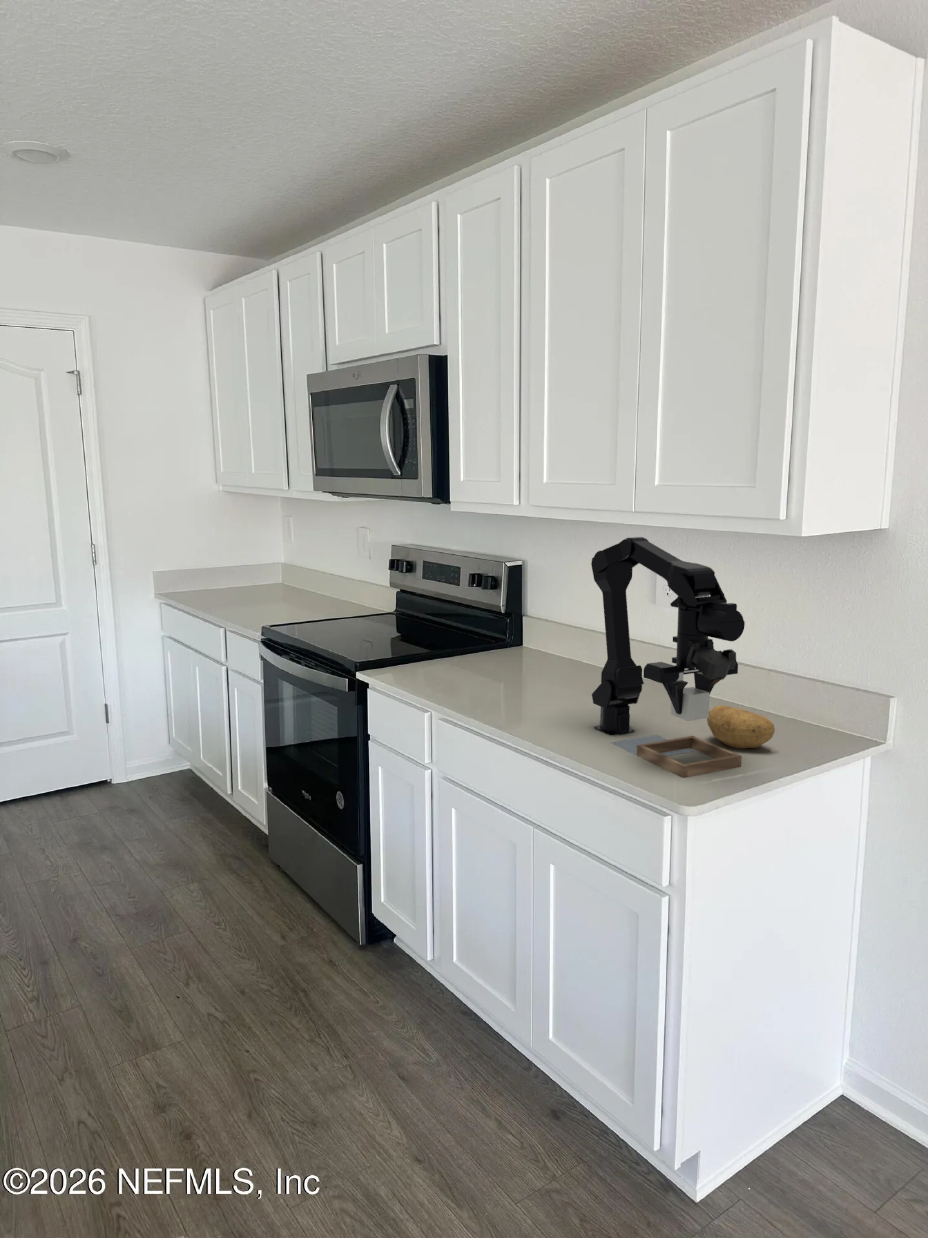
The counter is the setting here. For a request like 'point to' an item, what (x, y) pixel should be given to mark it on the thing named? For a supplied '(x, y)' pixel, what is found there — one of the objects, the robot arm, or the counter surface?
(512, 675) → the counter surface
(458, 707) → the counter surface
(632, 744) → the mat
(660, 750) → the bin
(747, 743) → the potato
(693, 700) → the white cube
